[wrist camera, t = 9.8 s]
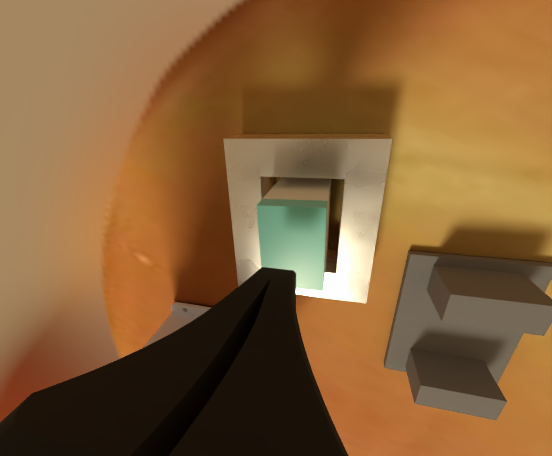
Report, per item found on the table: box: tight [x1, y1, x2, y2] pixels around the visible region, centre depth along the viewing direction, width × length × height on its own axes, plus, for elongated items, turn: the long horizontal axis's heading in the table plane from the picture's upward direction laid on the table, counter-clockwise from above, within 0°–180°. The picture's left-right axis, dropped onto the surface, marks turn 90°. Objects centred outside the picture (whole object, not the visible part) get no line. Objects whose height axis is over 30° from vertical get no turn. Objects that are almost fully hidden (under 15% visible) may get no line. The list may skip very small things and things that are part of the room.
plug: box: [257, 177, 331, 291], centre depth 15 cm, size 3×4×6 cm
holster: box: [384, 251, 552, 420], centre depth 17 cm, size 8×11×4 cm
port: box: [223, 134, 392, 303], centre depth 16 cm, size 9×10×3 cm
